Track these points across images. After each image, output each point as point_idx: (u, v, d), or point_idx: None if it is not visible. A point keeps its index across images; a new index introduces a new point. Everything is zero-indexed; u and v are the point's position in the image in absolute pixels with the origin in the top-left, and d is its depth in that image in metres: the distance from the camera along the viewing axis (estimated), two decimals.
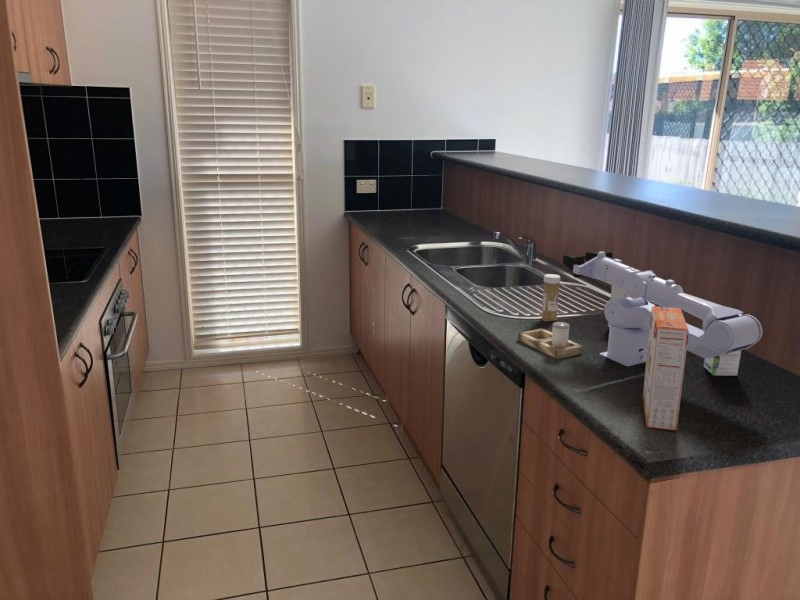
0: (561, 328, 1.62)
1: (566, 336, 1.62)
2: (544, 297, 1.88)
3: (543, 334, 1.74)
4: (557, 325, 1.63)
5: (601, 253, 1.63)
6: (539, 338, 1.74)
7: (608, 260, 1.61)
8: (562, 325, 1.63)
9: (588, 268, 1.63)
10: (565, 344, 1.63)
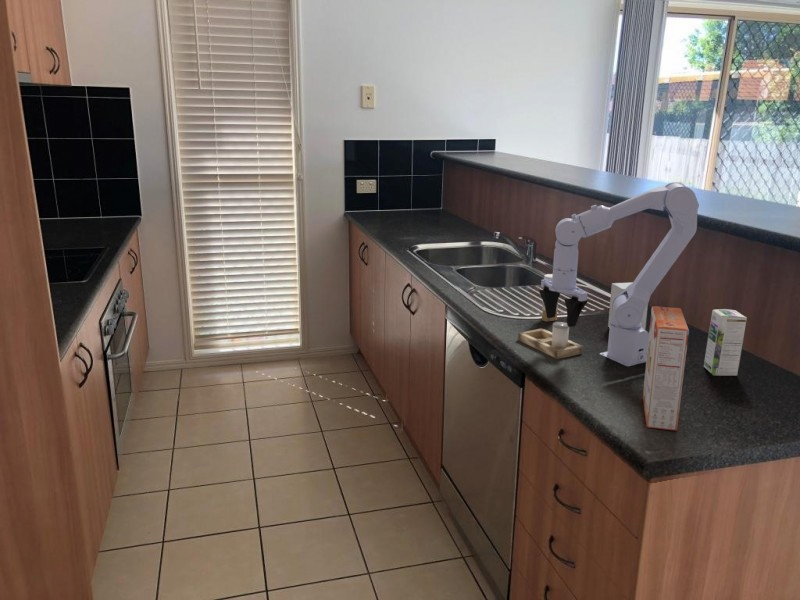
0: (561, 328, 1.62)
1: (566, 336, 1.62)
2: None
3: (543, 334, 1.74)
4: (557, 325, 1.63)
5: (552, 288, 1.59)
6: (539, 338, 1.74)
7: (557, 276, 1.58)
8: (562, 325, 1.63)
9: (573, 290, 1.57)
10: (565, 344, 1.63)
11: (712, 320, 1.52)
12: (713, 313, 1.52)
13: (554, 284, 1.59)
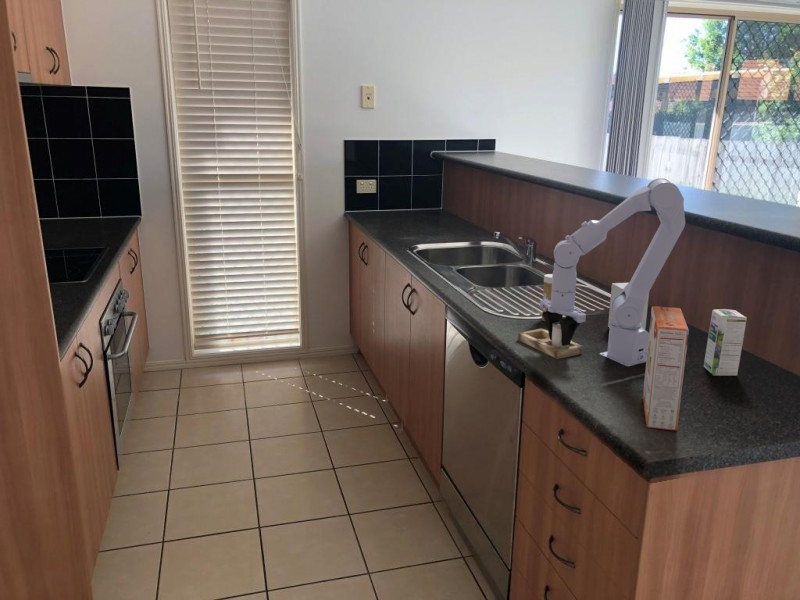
0: None
1: None
2: (544, 297, 1.88)
3: (543, 334, 1.74)
4: (557, 325, 1.63)
5: (551, 309, 1.60)
6: (539, 338, 1.74)
7: (555, 298, 1.60)
8: None
9: (572, 311, 1.59)
10: None
11: (712, 320, 1.52)
12: (713, 313, 1.52)
13: (553, 305, 1.61)
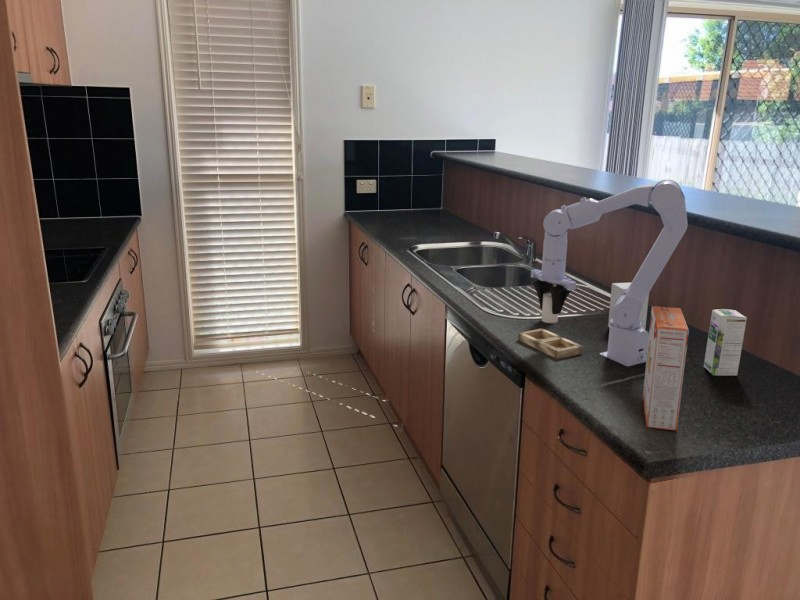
0: (551, 297, 1.63)
1: None
2: None
3: (543, 334, 1.74)
4: (547, 294, 1.64)
5: (542, 278, 1.62)
6: (539, 338, 1.74)
7: (546, 266, 1.61)
8: None
9: None
10: None
11: (712, 320, 1.53)
12: (713, 313, 1.52)
13: (543, 274, 1.62)
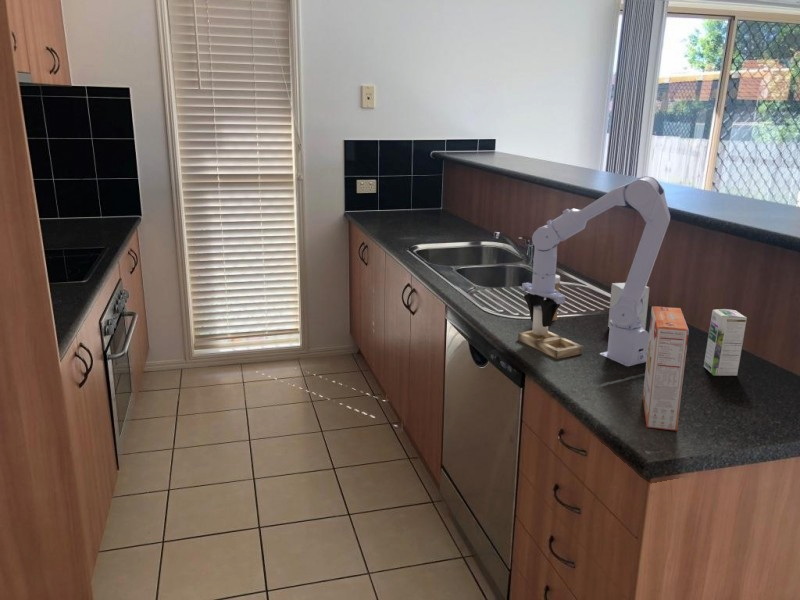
0: (541, 310, 1.67)
1: None
2: None
3: None
4: (538, 307, 1.68)
5: (532, 291, 1.66)
6: (539, 338, 1.74)
7: (536, 280, 1.65)
8: None
9: (552, 293, 1.64)
10: None
11: (712, 320, 1.52)
12: (713, 313, 1.52)
13: (534, 287, 1.66)
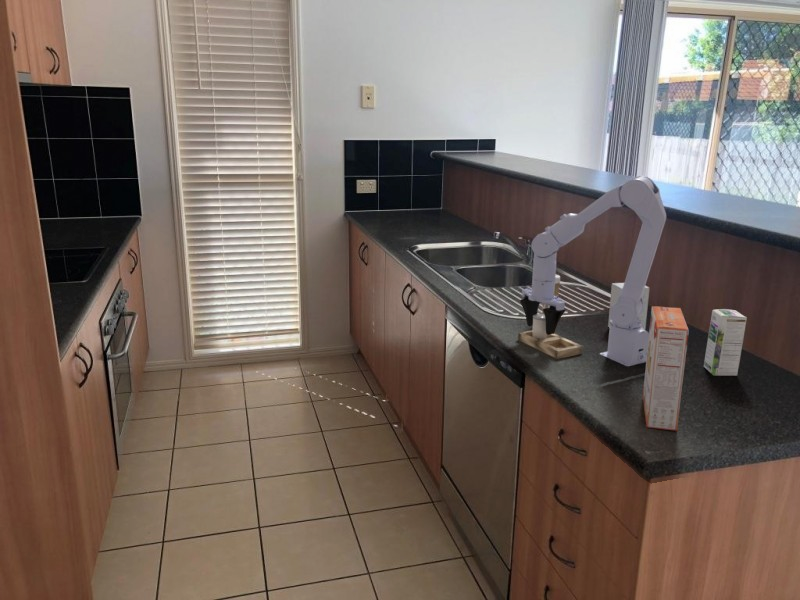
0: (541, 320, 1.68)
1: (545, 327, 1.69)
2: None
3: None
4: (537, 317, 1.69)
5: (532, 298, 1.66)
6: None
7: (536, 286, 1.66)
8: (542, 317, 1.69)
9: (552, 300, 1.65)
10: (545, 335, 1.69)
11: (712, 320, 1.53)
12: (713, 313, 1.52)
13: (533, 294, 1.67)
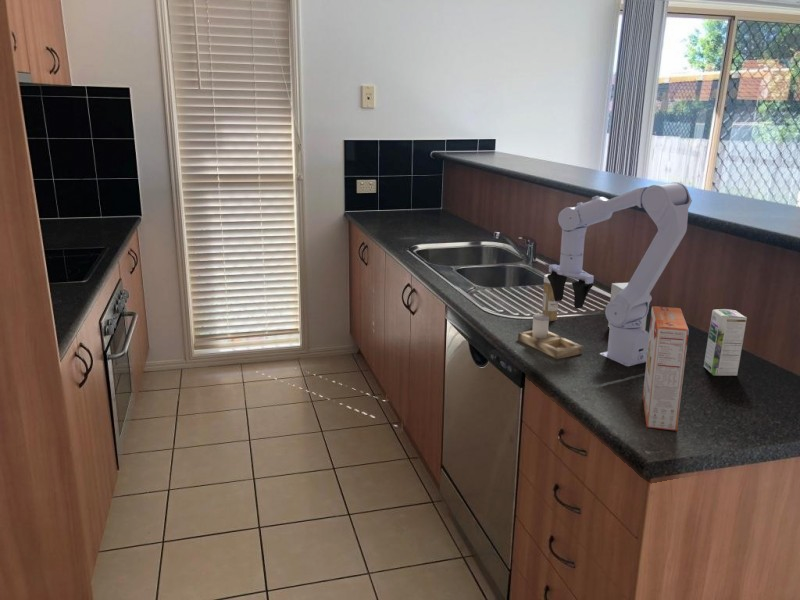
0: (541, 320, 1.68)
1: (545, 327, 1.69)
2: (544, 297, 1.88)
3: None
4: (537, 317, 1.69)
5: (560, 272, 1.68)
6: None
7: (564, 261, 1.67)
8: (542, 317, 1.69)
9: None
10: (545, 335, 1.69)
11: (712, 320, 1.52)
12: (713, 313, 1.52)
13: (562, 268, 1.69)
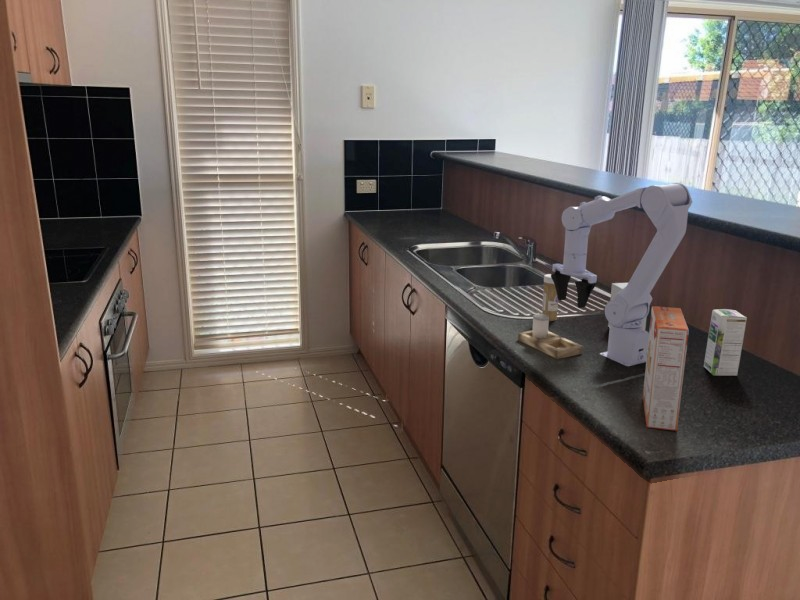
0: (541, 320, 1.68)
1: (545, 327, 1.69)
2: (544, 297, 1.88)
3: None
4: (537, 317, 1.69)
5: (563, 271, 1.68)
6: None
7: (568, 260, 1.68)
8: (542, 317, 1.69)
9: (583, 273, 1.67)
10: (545, 335, 1.69)
11: (712, 320, 1.52)
12: (713, 313, 1.52)
13: (565, 268, 1.69)
